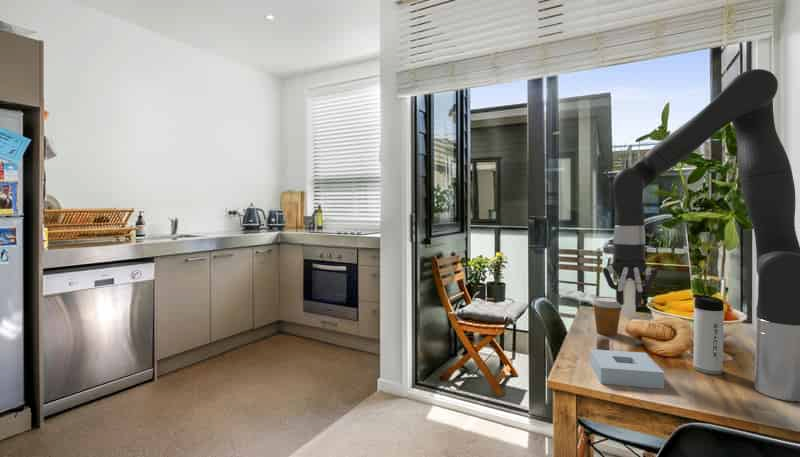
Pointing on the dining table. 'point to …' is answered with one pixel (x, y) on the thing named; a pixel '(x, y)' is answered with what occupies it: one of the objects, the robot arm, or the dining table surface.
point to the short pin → (602, 343)
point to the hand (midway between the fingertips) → (628, 304)
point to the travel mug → (708, 334)
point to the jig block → (626, 368)
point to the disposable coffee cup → (606, 315)
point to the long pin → (629, 298)
